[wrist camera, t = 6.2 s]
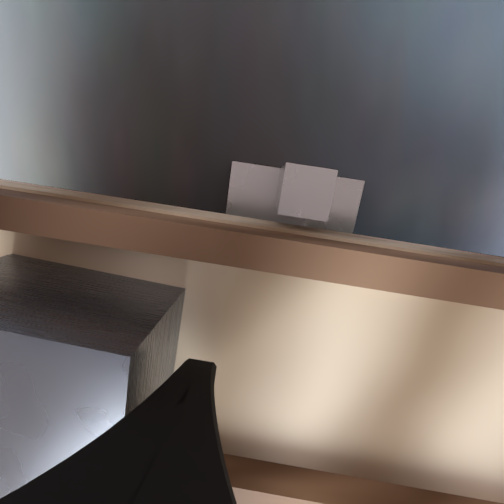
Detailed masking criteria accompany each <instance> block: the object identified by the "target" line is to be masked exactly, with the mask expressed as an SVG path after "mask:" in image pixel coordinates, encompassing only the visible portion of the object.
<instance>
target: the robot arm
mask: <svg viewBox="0 0 504 504" xmlns="http://www.w3.org/2000/svg"><path fill="white" fill-rule="evenodd" d="M216 368H217V366H216V365H215V363H214V362H209V361H203V360H197V359H191V358H189V359H187V360H186V361H185V362H184V363H183V364H182V365H181V366H180V367H179V368H178V369H177V370H176V371H175V372H174V373H173V374H172V375H171V376H170V377H169V378H168V379H167V380H166V381H165V382H164V383H163V384H162V385H161V386H159V387H158V388H157V389H156V390H155V391H154V392H153V393H152V394H151V395H149V396H148V397H147V398H146V399H145V400H144V401H143V402H142V403H140V404H139V405H138V406H137V407H136V408H134V409H133V410H132V411H131V412H129V413H128V414H127V415H126V416H124V417H123V418H122V419H121V420H120V421H118V422H117V423H116V424H115V425H113V426H112V427H111V428H109V429H108V430H107V431H105V432H104V433H103V434H101V435H100V436H99V437H97V438H96V439H94V440H93V441H92V442H90V443H89V444H87V445H86V446H84V447H83V448H81V449H80V450H79V451H77V452H76V453H74V454H73V455H71V456H70V457H68V458H67V459H65V460H63V461H62V462H60V463H59V464H57V465H56V466H54V467H52V468H51V469H49V470H48V471H46V472H45V473H43V474H41V475H40V476H38V477H36V478H35V479H33V480H31V481H30V482H28V483H26V484H25V485H23V486H21V487H20V488H18V489H16V490H15V491H13V492H11V493H9V494H8V495H6V496H4V497H2V498H0V504H237V502H236V499H235V496H234V492H233V489H232V486H231V482H230V479H229V475H228V471H227V467H226V463H225V459H224V455H223V450H222V445H221V440H220V435H219V430H218V423H217V416H216V407H215V397H214V383H215V376H216Z"/></svg>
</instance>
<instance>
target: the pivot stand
mask: <svg viewBox="0 0 504 504" xmlns="http://www.w3.org/2000/svg"><path fill="white" fill-rule="evenodd" d="M337 174H338V170H334V169H328V168H321V167H314V166H308V165H301V164H294V163H288V162H286V163H285V164H284V165H283V166H282V167H281V168H276V167H269V166H263V165H256V164H249V163H243V162H236V161H232V167H231V175H230V183H229V191H228V199H227V207H226V214H229V215H235V216H242V217H248V218H255V219H261V220H268V221H274V222H281V223H287V224H294V225H300V226H306V227H313V228H319V229H326V230H332V231H339V232H345V233H352V234H353V231H354V226H355V222H356V218H357V213H358V209H359V205H360V200H361V196H362V192H363V187H364V183H365V181H362V180H356V179H349V178H342V177H337Z"/></svg>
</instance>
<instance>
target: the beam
mask: <svg viewBox="0 0 504 504" xmlns="http://www.w3.org/2000/svg"><path fill="white" fill-rule="evenodd" d="M9 254H16V255H21V256H26V257H31V258H36V259H41V260H46V261H51V262H56V263H61V264H66V265H71V266H76V267H81V268H86V269H91V270H96V271H101V272H106V273H111V274H116V275H121V276H126V277H131V278H136V279H141V280H146V281H151V282H156V283H161V284H166V285H171V286H176V287H181V288H186V289H185V296H184V303H183V310H182V318H181V325H180V332H179V339H178V346H177V353H176V360H175V367H174V372H175V371H176V370H177V369H178V368H179V367H180V366H181V365H182V364H183V363H184V362H185V361H186V360H187V359H189V358H191V359H197V360H203V361H209V362H214V363H215V365H216V366H217V368H216V376H215V383H214V397H215V407H216V416H217V423H218V430H219V435H220V440H221V445H222V450H223V455H224V459H225V463H226V467H227V471H228V475H229V479H230V482H231V486H232V489H233V492H234V496H235V499H236V502H237V504H504V257H500V256H493V255H487V254H481V253H474V252H468V251H461V250H455V249H448V248H442V247H435V246H429V245H423V244H416V243H410V242H403V241H397V240H390V239H384V238H377V237H371V236H364V235H358V234H352V233H345V232H339V231H332V230H326V229H319V228H313V227H306V226H300V225H294V224H287V223H281V222H274V221H268V220H261V219H255V218H248V217H242V216H235V215H229V214H223V213H216V212H210V211H203V210H197V209H190V208H184V207H177V206H171V205H165V204H158V203H152V202H145V201H139V200H132V199H126V198H119V197H113V196H106V195H100V194H94V193H87V192H81V191H74V190H68V189H61V188H55V187H48V186H42V185H36V184H29V183H23V182H16V181H10V180H3V179H0V257H2V256H6V255H9Z"/></svg>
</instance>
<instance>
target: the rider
mask: <svg viewBox="0 0 504 504" xmlns="http://www.w3.org/2000/svg"><path fill="white" fill-rule="evenodd" d="M185 289H186V288H181V287H176V286H171V285H166V284H161V283H156V282H151V281H146V280H141V279H136V278H131V277H126V276H121V275H116V274H111V273H106V272H101V271H96V270H91V269H86V268H81V267H76V266H71V265H66V264H61V263H56V262H51V261H46V260H41V259H36V258H31V257H26V256H21V255H16V254H9V255H6V256H2V257H0V498H2V497H4V496H6V495H8V494H9V493H11V492H13V491H15V490H16V489H18V488H20V487H21V486H23V485H25V484H26V483H28V482H30V481H31V480H33V479H35V478H36V477H38V476H40V475H41V474H43V473H45V472H46V471H48V470H49V469H51V468H52V467H54V466H56V465H57V464H59V463H60V462H62V461H63V460H65V459H67V458H68V457H70V456H71V455H73V454H74V453H76V452H77V451H79V450H80V449H81V448H83V447H84V446H86V445H87V444H89V443H90V442H92V441H93V440H94V439H96V438H97V437H99V436H100V435H101V434H103V433H104V432H105V431H107V430H108V429H109V428H111V427H112V426H113V425H115V424H116V423H117V422H118V421H120V420H121V419H122V418H123V417H124V416H126V415H127V414H128V413H129V412H131V411H132V410H133V409H134V408H136V407H137V406H138V405H139V404H140V403H142V402H143V401H144V400H145V399H146V398H147V397H148V396H149V395H151V394H152V393H153V392H154V391H155V390H156V389H157V388H158V387H159V386H161V385H162V384H163V383H164V382H165V381H166V380H167V379H168V378H169V377H170V376H171V375H172V374H173V373H174V367H175V360H176V353H177V346H178V339H179V332H180V325H181V318H182V310H183V303H184V296H185Z"/></svg>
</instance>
